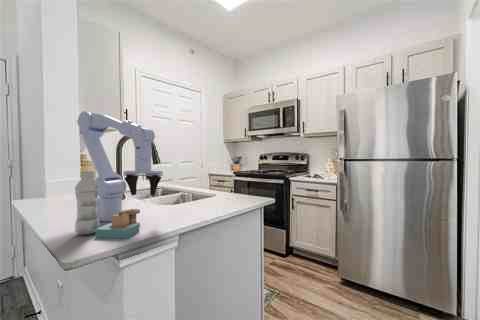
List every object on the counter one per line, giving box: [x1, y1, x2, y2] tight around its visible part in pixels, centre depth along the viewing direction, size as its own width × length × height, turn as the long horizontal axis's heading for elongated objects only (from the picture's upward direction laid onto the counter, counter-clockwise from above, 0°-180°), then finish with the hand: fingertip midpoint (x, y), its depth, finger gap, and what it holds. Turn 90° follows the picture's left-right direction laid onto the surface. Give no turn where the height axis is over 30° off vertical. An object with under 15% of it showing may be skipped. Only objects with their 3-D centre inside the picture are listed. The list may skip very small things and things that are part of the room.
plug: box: [111, 212, 129, 228], centre depth 72 cm, size 4×4×7 cm
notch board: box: [95, 222, 140, 239], centre depth 71 cm, size 10×7×2 cm
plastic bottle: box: [74, 171, 101, 236], centre depth 71 cm, size 6×7×20 cm
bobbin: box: [120, 208, 141, 228], centre depth 78 cm, size 6×6×6 cm
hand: (143, 195), depth 84 cm, fingers open, 7 cm apart
